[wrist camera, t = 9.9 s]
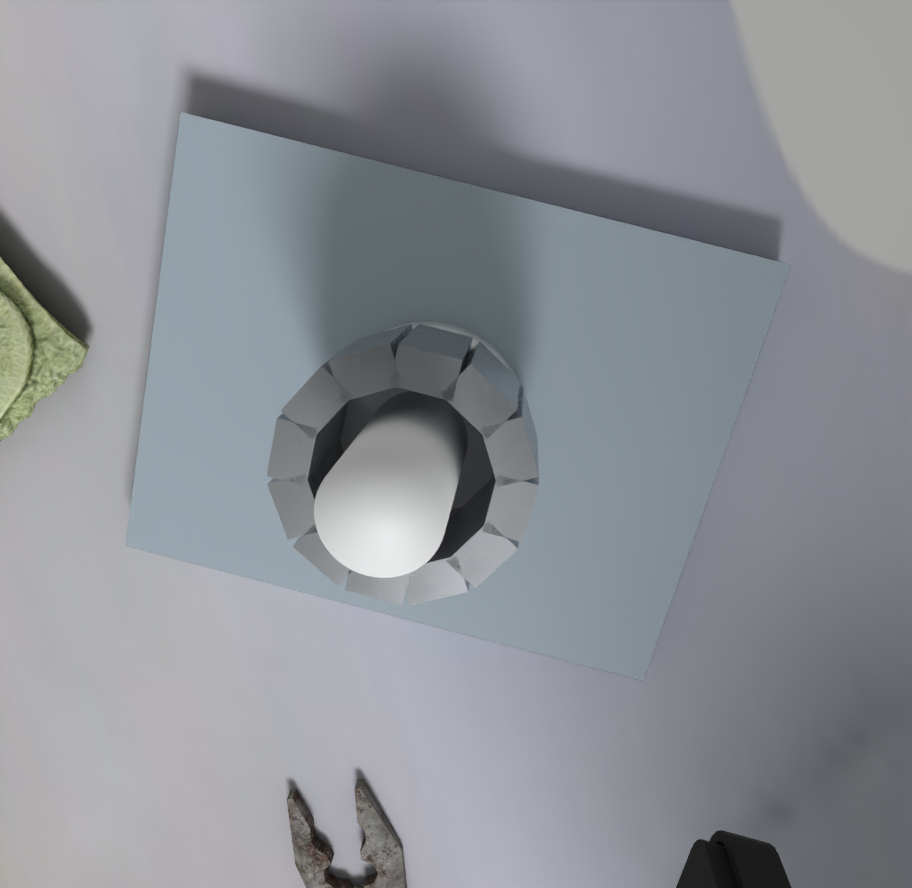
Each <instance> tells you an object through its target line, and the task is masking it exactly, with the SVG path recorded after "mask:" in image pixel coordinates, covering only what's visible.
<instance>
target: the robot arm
mask: <svg viewBox="0 0 912 888" xmlns="http://www.w3.org/2000/svg"><path fill="white" fill-rule="evenodd" d="M676 888H791V886H790V883H789V881H788V878H787V875H786V873H785V870H784V868H783V865H782V863H781V860H780V857H779V855H778V853H777V851H776V849H775V847H773V846H772V845H771V844H769V843H766V842H762V841H758V840H755V839H751V838H747V837H744V836H740V835H737V834H733V833H729V832H726V831H722V830H721V831H717V832H716V833H715V834H714V835H713V836H712V838H711V839H710V841H705V840H701V839H700V840H697V841H696V842H695V843H694V845H693V847H692V849H691V851H690V854H689V856H688V859H687V861H686V864H685V866H684V869H683V872H682V874H681V877H680V879H679V882H678V884H677V887H676Z"/></svg>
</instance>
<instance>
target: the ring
mask: <svg viewBox="0 0 912 888" xmlns="http://www.w3.org/2000/svg"><path fill="white" fill-rule="evenodd" d="M472 339H473V337H470V336H466V335H462V334H458V333H454V332H450V331H446V330H442V329H439V328H435V327H431V326H427V325H423V324H418V325H417V326H416V327H415V328H414V329H413V327H412V324H409V325H405V326H402V327H398V328H395V329H392V330H388V331H385V332H381V333H378V334H374V335H371V336H367V337H364V338H360V339H359V340H357V341H356V342H354V343H352V344H351V345H349V346H348V347H347V348H345V349H344V350H342V351H341V352H340V353H338V354H337V355H335V356H334V357H333V358H331V359H330V360H328V361H327V362H326V363H324V364H323V365H322V366H320V368H319V369H318V370H317V371H316V372H315V373H314V374H313V375H312V376H311V377H310V379H309V380H308V381H307V382H306V383H305V384H304V385H303V386H302V387H301V389H300V390H299V391H298V392H297V393H296V394H295V395H294V396H293V397H292V398H291V400H290V401H289V402H288V403H287V404H286V405H285V406H284V407H283V408H282V409H281V412H283V413H282V414H281V415H280V416H279V417H277V420H276V425H275V431H274V437H273V442H272V448H271V453H270V459H269V465H268V470H267V476H268V477H272V478H273V479H272V480H271V481H270V482H269V483H268V484H267V485H268V488H269V490H270V493H271V496H272V498H273V501H274V504H275V506H276V509H277V512H278V515H279V517H280V520H281V523H282V525H283V528H284V531H285V533H286V536H287V539H288V540H289V539H293V538H297V537H299V538H298V539H297V541H296V542H295V544H294V545H293V547H294V548H295V549H296V550H297V551H298V552H299V553H300V554H302V555H303V556H304V557H305V558H306V559H307V560H308V561H310V562H311V563H312V564H313V565H314V566H315V567H316V568H317V569H319V570H320V571H321V572H322V573H323V574H324V575H325V576H326V577H328V578H329V579H330V580H331V581H332V582H333V583H334V584H336V585H337V586H338V585H339V584H340V583H341V582H342V581H343V580H344V579H345V578H346V577H347V576H348V577H347V582H346V586H345V590H347V591H350V592H354V593H358V594H362V595H366V596H370V597H373V598H377V599H381V600H385V601H389V602H393V603H396V604H400V605H403V602H404V599H405V596H406V593H407V596H408V599H409V601H410V604H411V605H414V604H418V603H423V602H427V601H431V600H436V599H440V598H444V597H449V596H453V595H457V594H462V593H466V592H468V590H469V584H471V585H472V586H473V587H474V588H476V587H477V586H478V585H479V584H481V583H482V582H483V581H484V580H485V579H486V578H487V577H488V576H489V575H490V574H491V573H493V572H494V571H495V570H496V569H497V568H498V567H499V566H500V565H501V564H502V563H503V562H505V561H506V560H507V559H508V558H509V557H510V556H511V555H512V554H513V553H514V552H515V551H517V550H518V543H519V541H520V542H523V539H524V535H525V532H526V528H527V525H528V521H529V518H530V514H531V511H532V507H533V504H534V500H535V497H536V493H537V490H538V487H539V465H538V437H537V433H536V430H535V426H534V423H533V419H532V415H531V412H530V408H529V405H528V401H527V397H526V394H525V390H524V387H523V386H521V387H519V378H517V377H516V376H515V375H514V374H513V373H512V372H511V371H510V370H509V369H508V368H507V367H506V366H505V365H504V364H503V363H502V362H501V361H500V360H499V359H498V358H497V357H496V356H495V355H494V354H493V353H492V352H491V351H490V350H489V349H488V348H486V347H485V346H484V345H483V344H482V343H481V342H480V341H479V342H478V343H477V344H476V345H475V346H474V347H473V349H472V350H471V351H470V348H471V344H472ZM395 387H398V388H402V389H406V390H410V391H414V392H418V393H422V394H426V395H429V396H433V397H437V398H441V399H445V400H447V401H448V402H449V403H450V404H451V405H452V406H453V407H454V408H455V409H456V410H457V411H458V412H459V413H460V414H461V415H462V416H463V417H464V418H466V419H467V420H468V421H469V422H470V423H471V424H472V425H473V426H474V427H475V428H476V429H477V430H478V431H479V432H480V433H481V434H482V435H483V438H484V442H485V445H486V449H487V452H488V455H489V459H490V462H491V466H492V469H493V473H492V477H491V480H490V481H489V482H488V483H487V484H486V485H485V486H484V487H483V488H482V489H481V490H479V491H478V492H477V493H476V494H475V495H474V496H473V497H472V498H471V499H470V500H469V501H468V502H467V503H466V504H465V505H464V506H463V507H461V508H457V509H453V510H451V511H450V515H449V519H448V523H447V526H446V530H445V534H444V537H443V540H442V542H441V544H440V546H439V548H438V550H437V551H436V553H435V554H434V555H433V556H432V557H431V559H430V560H429V561H428V562H426V563H425V564H424V565H423V566H421V567H420V568H418V569H417V570H415V571H413V572H410V573H408V574H405V575H402V576H397V577H392V578H378V577H371V576H366V575H363V574H360V573H357V572H355V571H353V570H351V569H349V568H347V567H346V566H344V565H343V564H341V563H340V562H339V561H337V560H336V559H335V558H334V557H333V556H332V555H331V554H330V552H329V551H328V550H327V549H326V547H325V546H324V544H323V542H322V541H321V539H320V537H319V534H318V532H317V528H316V525H315V519H314V504H315V498H316V494H317V491H318V489H319V487H320V484H321V483H322V481H323V479H324V478H325V477H326V475H327V474H328V473H329V471H330V470H331V469H332V468H333V466H334V465H335V464H336V462H337V461H338V460H339V459H340V457H341V456H342V455H343V454H344V450H343V447H342V444H341V436H342V431H343V426H344V421H345V416H346V411H347V406H348V402H349V401H350V400H351V399H355V398H358V397H362V396H366V395H369V394H373V393H377V392H380V391H384V390H387V389H391V388H395Z"/></svg>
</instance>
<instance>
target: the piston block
mask: <svg viewBox="0 0 912 888" xmlns="http://www.w3.org/2000/svg"><path fill="white" fill-rule="evenodd" d="M790 267H791V264H787V263H783V262H779V261H775V260H771V259H767V258H763V257H759V256H755V255H751V254H747V253H743V252H739V251H735V250H731V249H727V248H723V247H719V246H715V245H711V244H707V243H703V242H699V241H695V240H691V239H687V238H683V237H679V236H675V235H671V234H667V233H663V232H659V231H655V230H651V229H647V228H643V227H639V226H635V225H631V224H627V223H623V222H619V221H615V220H611V219H607V218H603V217H599V216H595V215H591V214H587V213H583V212H579V211H575V210H571V209H567V208H563V207H559V206H555V205H551V204H547V203H543V202H539V201H535V200H531V199H527V198H523V197H519V196H515V195H511V194H507V193H503V192H499V191H495V190H491V189H487V188H483V187H479V186H475V185H471V184H467V183H463V182H459V181H455V180H451V179H447V178H443V177H439V176H435V175H431V174H427V173H423V172H419V171H415V170H411V169H407V168H403V167H399V166H395V165H391V164H387V163H383V162H379V161H375V160H371V159H367V158H363V157H359V156H355V155H351V154H347V153H343V152H339V151H335V150H331V149H327V148H323V147H319V146H315V145H311V144H307V143H303V142H299V141H295V140H291V139H287V138H283V137H279V136H275V135H271V134H267V133H263V132H259V131H255V130H251V129H247V128H243V127H239V126H235V125H231V124H227V123H223V122H219V121H215V120H211V119H207V118H203V117H199V116H195V115H191V114H187V113H183V112H180V120H179V128H178V136H177V144H176V152H175V160H174V167H173V175H172V183H171V191H170V199H169V207H168V215H167V222H166V230H165V238H164V246H163V254H162V262H161V270H160V278H159V285H158V293H157V301H156V309H155V317H154V325H153V333H152V340H151V348H150V356H149V364H148V372H147V380H146V388H145V395H144V403H143V411H142V419H141V427H140V435H139V443H138V450H137V458H136V466H135V474H134V482H133V490H132V498H131V506H130V513H129V521H128V529H127V537H126V545H125V546H127V547H131V548H135V549H139V550H142V551H146V552H150V553H154V554H158V555H162V556H165V557H169V558H173V559H177V560H181V561H185V562H188V563H192V564H196V565H200V566H204V567H208V568H211V569H215V570H219V571H223V572H227V573H231V574H234V575H238V576H242V577H246V578H250V579H254V580H257V581H261V582H265V583H269V584H273V585H277V586H280V587H284V588H288V589H292V590H296V591H300V592H303V593H307V594H311V595H315V596H319V597H323V598H326V599H330V600H334V601H338V602H342V603H345V604H349V605H353V606H357V607H361V608H365V609H368V610H372V611H376V612H380V613H384V614H388V615H391V616H395V617H399V618H403V619H407V620H411V621H414V622H418V623H422V624H426V625H430V626H434V627H437V628H441V629H445V630H449V631H453V632H457V633H460V634H464V635H468V636H472V637H476V638H480V639H483V640H487V641H491V642H495V643H499V644H503V645H506V646H510V647H514V648H518V649H522V650H526V651H529V652H533V653H537V654H541V655H545V656H549V657H552V658H556V659H560V660H564V661H568V662H571V663H575V664H579V665H583V666H587V667H591V668H594V669H598V670H602V671H606V672H610V673H614V674H617V675H621V676H625V677H629V678H633V679H637V680H640V681H643V680H644V677H645V675H646V672H647V669H648V666H649V663H650V661H651V658H652V655H653V652H654V649H655V646H656V644H657V641H658V638H659V635H660V632H661V630H662V627H663V624H664V621H665V618H666V616H667V613H668V610H669V607H670V604H671V602H672V599H673V596H674V593H675V590H676V587H677V585H678V582H679V579H680V576H681V573H682V571H683V568H684V565H685V562H686V559H687V557H688V554H689V551H690V548H691V545H692V542H693V540H694V537H695V534H696V531H697V528H698V526H699V523H700V520H701V517H702V514H703V512H704V509H705V506H706V503H707V500H708V498H709V495H710V492H711V489H712V486H713V483H714V481H715V478H716V475H717V472H718V469H719V467H720V464H721V461H722V458H723V455H724V453H725V450H726V447H727V444H728V441H729V439H730V436H731V433H732V430H733V427H734V424H735V422H736V419H737V416H738V413H739V410H740V408H741V405H742V402H743V399H744V396H745V394H746V391H747V388H748V385H749V382H750V380H751V377H752V374H753V371H754V368H755V365H756V363H757V360H758V357H759V354H760V351H761V349H762V346H763V343H764V340H765V337H766V335H767V332H768V329H769V326H770V323H771V320H772V318H773V315H774V312H775V309H776V306H777V304H778V301H779V298H780V295H781V292H782V290H783V287H784V284H785V281H786V278H787V276H788V273H789V270H790ZM409 324H412V327H413V329H414V328H415V327H416V326H417V325H418V324H423V325H427V326H431V327H435V328H439V329H442V330H446V331H450V332H454V333H458V334H462V335H466V336H470V337H473V339H472V344H471V348H470V351H471V350H472V349H473V347H474V346H475V345H476V344H477V343H478V342H479V341H480V342H481V343H482V344H483V345H484V346H485V347H486V348H488V349H489V350H490V351H491V352H492V353H493V354H494V355H495V356H496V357H497V358H498V359H499V360H500V361H501V362H502V363H503V364H504V365H505V366H506V367H507V368H508V369H509V370H510V371H511V372H512V373H513V374H514V375H515V376H516V377H517V378H519V387H521V386H523V387H524V390H525V394H526V397H527V401H528V405H529V408H530V412H531V415H532V419H533V423H534V426H535V430H536V433H537V437H538V465H539V487H538V490H537V493H536V497H535V500H534V504H533V507H532V511H531V514H530V518H529V521H528V525H527V528H526V532H525V535H524V539H523V542H520V541H519V543H518V550H517V551H515V552H514V553H513V554H512V555H511V556H510V557H509V558H508V559H507V560H506V561H505V562H503V563H502V564H501V565H500V566H499V567H498V568H497V569H496V570H495V571H494V572H493V573H491V574H490V575H489V576H488V577H487V578H486V579H485V580H484V581H483V582H482V583H481V584H479V585H478V586H477V587H476V588H474V587H473V586H472V585H471V584H469V590H468V592H466V593H462V594H457V595H453V596H449V597H444V598H440V599H436V600H431V601H427V602H423V603H418V604H414V605H411V604H410V601H409V599H408V596H407V593H406V596H405V599H404V602H403V605H400V604H396V603H393V602H389V601H385V600H381V599H377V598H373V597H370V596H366V595H362V594H358V593H354V592H350V591H347V590H345V586H346V582H347V577H348V576H347V577H346V578H345V579H344V580H343V581H342V582H341V583H340V584H339V585H338V586H337V585H336V584H334V583H333V582H332V581H331V580H330V579H329V578H328V577H326V576H325V575H324V574H323V573H322V572H321V571H320V570H319V569H317V568H316V567H315V566H314V565H313V564H312V563H311V562H310V561H308V560H307V559H306V558H305V557H304V556H303V555H302V554H300V553H299V552H298V551H297V550H296V549H295V548H294V547H293V545H294V544H295V542H296V541H297V539H298V538H299V537H297V538H293V539H289V540H288V539H287V536H286V533H285V531H284V528H283V525H282V523H281V520H280V517H279V515H278V512H277V509H276V506H275V504H274V501H273V498H272V496H271V493H270V490H269V488H268V485H267V484H268V483H269V482H270V481H271V480H272V479H273V478H272V477H268V476H267V470H268V465H269V459H270V453H271V448H272V442H273V437H274V431H275V425H276V420H277V417H279V416H280V415H281V414H282V413H283V412H281V409H282V408H283V407H284V406H285V405H286V404H287V403H288V402H289V401H290V400H291V398H292V397H293V396H294V395H295V394H296V393H297V392H298V391H299V390H300V389H301V387H302V386H303V385H304V384H305V383H306V382H307V381H308V380H309V379H310V377H311V376H312V375H313V374H314V373H315V372H316V371H317V370H318V369H319V368H320V366H322V365H323V364H324V363H326V362H327V361H328V360H330V359H331V358H333V357H334V356H335V355H337V354H338V353H340V352H341V351H342V350H344V349H345V348H347V347H348V346H349V345H351V344H352V343H354V342H356V341H357V340H359V339H360V338H364V337H367V336H371V335H374V334H378V333H381V332H385V331H388V330H392V329H395V328H398V327H402V326H405V325H409ZM341 444H342V447H343V450H344V454H343V455H342V456H341V457H340V459H339V460H338V461H337V462H336V464H335V465H334V466H333V468H332V469H331V470H330V471H329V473H328V474H327V475H326V477H325V478H324V479H323V481H322V483H321V484H320V487H319V489H318V491H317V494H316V498H315V504H314V519H315V525H316V528H317V532H318V534H319V537H320V539H321V541H322V542H323V544H324V546H325V547H326V549H327V550H328V551H329V552H330V554H331V555H332V556H333V557H334V558H335V559H336V560H337V561H339V562H340V563H341V564H343V565H344V566H346V567H347V568H349V569H351V570H353V571H355V572H357V573H360V574H363V575H366V576H371V577H378V578H392V577H397V576H402V575H405V574H408V573H410V572H413V571H415V570H417V569H418V568H420V567H421V566H423V565H424V564H425V563H426V562H428V561H429V560H430V559H431V557H432V556H433V555H434V554H435V553H436V551H437V550H438V548H439V546H440V544H441V542H442V540H443V537H444V534H445V530H446V526H447V523H448V519H449V515H450V511H451V510H453V509H457V508H461V507H463V506H464V505H465V504H466V503H467V502H468V501H469V500H470V499H471V498H472V497H473V496H474V495H475V494H476V493H477V492H478V491H479V490H481V489H482V488H483V487H484V486H485V485H486V484H487V483H488V482H489V481H490V480H491V477H492V473H493V469H492V466H491V462H490V459H489V455H488V452H487V449H486V445H485V442H484V438H483V435H482V434H481V433H480V432H479V431H478V430H477V429H476V428H475V427H474V426H473V425H472V424H471V423H470V422H469V421H468V420H467V419H466V418H464V417H463V416H462V415H461V414H460V413H459V412H458V411H457V410H456V409H455V408H454V407H453V406H452V405H451V404H450V403H449V402H448V401H447V400H445V399H441V398H437V397H433V396H429V395H426V394H422V393H418V392H414V391H410V390H406V389H402V388H398V387H395V388H391V389H387V390H384V391H380V392H377V393H373V394H369V395H366V396H362V397H358V398H355V399H351V400H350V401H349V402H348V406H347V411H346V416H345V421H344V426H343V431H342V436H341Z"/></svg>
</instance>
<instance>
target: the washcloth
mask: <svg viewBox="0 0 912 888" xmlns="http://www.w3.org/2000/svg"><path fill="white" fill-rule="evenodd" d="M89 347H90V346H89V345H88V344H85V343H83V342H82V341H81V340H79V339H77V338H76V337H75V336H74V335H73V334H72V333H70V332H69V331H68V330H66V328H65V327H64V326H63V325H62V324H60V323H59V322H58V321H57V320H56V319H55V318H54V317H53V316H52V315H51V314H50V313H49V312H48V311H47V310H46V309H45V308H44V307H42V306H41V305H40V304H39V303H38V302H37V301H36V300H35V298H34V296H33V295H32V294H31V293H30V292H29V291H28V290H27V289H26V288H25V286H24V285H23V284H22V283H21V281H20V280H19V279H18V278H17V277H16V275H15V274H14V273H13V272H12V270H11V269H10V268H9V267H8V265H7V264H5V262H4V261H3V260H2V258H1V257H0V441H1V440H2V439H5V438H7V437H8V436H10V435H12V433H13V432H14V430H15V429H16V427H17V424H18V423H19V422H21V421H23V420H24V419H26V418H28V417H30V416H31V414H32V412H33V411H34V408H35V404H36V403H37V402H38V401H39V400H41V399H42V398H44V397H48V396H50V395H51V394H52V393H53V392H54V391H56V389H57V387H59V386H60V385H61V384H63V383H64V381H65V380H66V379H67V377H68V375H69V374H72V373H74V372H77V371H78V369H79V368H81V367H82V365H83V361H84V359H85V357H86V354H87V352H88V349H89Z"/></svg>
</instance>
